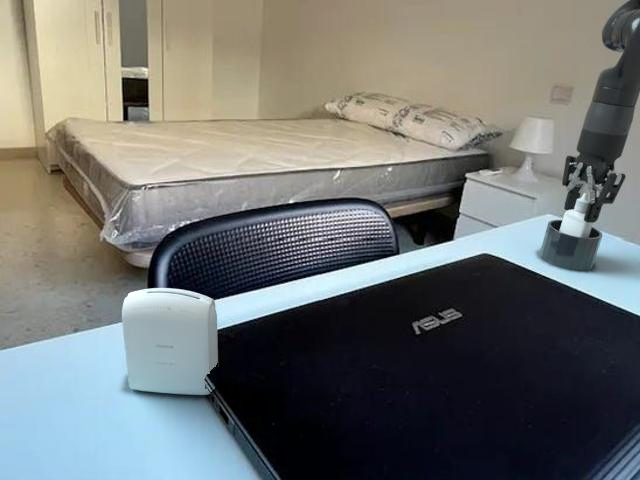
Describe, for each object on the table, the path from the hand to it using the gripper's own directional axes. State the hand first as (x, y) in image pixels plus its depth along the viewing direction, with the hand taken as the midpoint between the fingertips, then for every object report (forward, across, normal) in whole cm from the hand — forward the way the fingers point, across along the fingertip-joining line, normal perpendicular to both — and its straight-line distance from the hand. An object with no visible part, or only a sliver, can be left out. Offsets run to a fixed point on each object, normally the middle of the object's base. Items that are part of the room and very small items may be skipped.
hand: (579, 215), depth 97 cm
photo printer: (+10, -33, +73) cm, 81 cm away
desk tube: (+10, 0, 0) cm, 10 cm away
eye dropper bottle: (+8, 0, 0) cm, 8 cm away
